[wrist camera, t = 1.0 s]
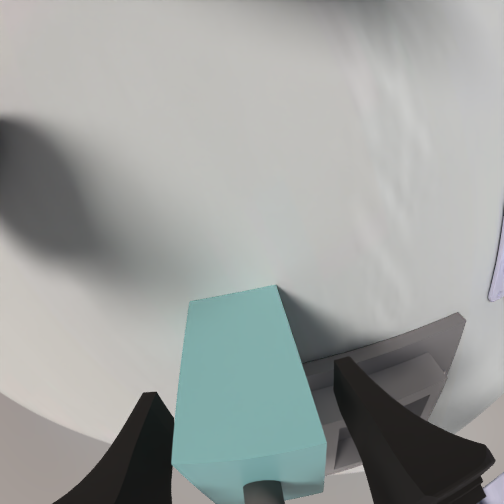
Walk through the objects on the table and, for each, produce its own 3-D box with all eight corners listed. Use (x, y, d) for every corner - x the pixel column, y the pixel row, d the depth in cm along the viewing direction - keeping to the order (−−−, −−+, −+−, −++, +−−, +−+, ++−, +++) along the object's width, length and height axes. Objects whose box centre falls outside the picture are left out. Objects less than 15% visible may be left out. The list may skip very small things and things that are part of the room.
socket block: (458, 312, 16) (487, 342, 12) (422, 410, 20) (437, 437, 17) (253, 374, 15) (260, 424, 12) (277, 457, 20) (283, 490, 17)
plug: (275, 284, 13) (341, 491, 4) (287, 360, 15) (331, 522, 7) (189, 301, 13) (168, 512, 4) (216, 373, 15) (223, 538, 6)
